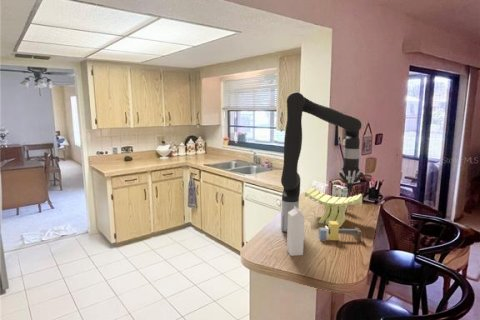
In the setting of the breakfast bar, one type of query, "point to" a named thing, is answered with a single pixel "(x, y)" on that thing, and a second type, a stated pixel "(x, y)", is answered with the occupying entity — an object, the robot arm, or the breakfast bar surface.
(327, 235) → the pale beige end plate
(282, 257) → the breakfast bar surface
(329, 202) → the slatted curved stool
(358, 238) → the tan flat end block
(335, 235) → the yellow sliding collar
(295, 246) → the milk
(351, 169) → the robot arm
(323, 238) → the block
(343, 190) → the candy bar box
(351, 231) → the grey slider rail
